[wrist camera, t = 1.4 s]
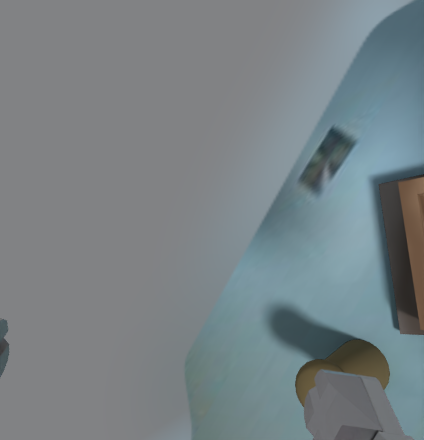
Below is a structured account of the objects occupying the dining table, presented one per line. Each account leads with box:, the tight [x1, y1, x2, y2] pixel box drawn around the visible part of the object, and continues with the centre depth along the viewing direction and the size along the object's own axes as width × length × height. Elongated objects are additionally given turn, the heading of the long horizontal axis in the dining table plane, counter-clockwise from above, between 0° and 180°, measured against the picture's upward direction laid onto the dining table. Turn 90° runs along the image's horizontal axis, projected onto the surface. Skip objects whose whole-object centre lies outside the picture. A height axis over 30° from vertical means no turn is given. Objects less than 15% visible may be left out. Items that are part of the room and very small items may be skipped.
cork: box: [295, 340, 390, 407], centre depth 39 cm, size 6×6×11 cm
